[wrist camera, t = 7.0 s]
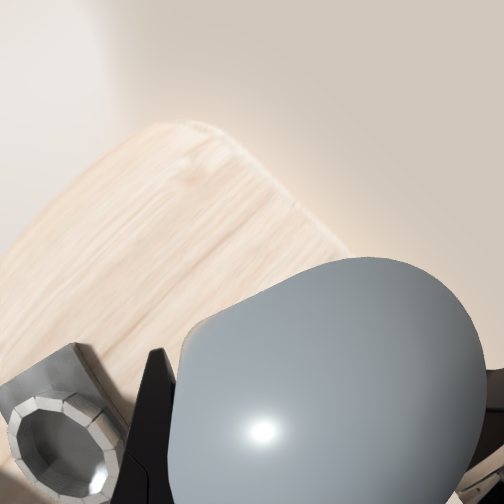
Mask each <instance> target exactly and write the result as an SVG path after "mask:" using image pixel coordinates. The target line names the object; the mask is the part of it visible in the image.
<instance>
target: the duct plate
mask: <svg viewBox="0 0 504 504" xmlns="http://www.w3.org/2000/svg"><path fill="white" fill-rule="evenodd" d="M0 412H1V414H2V416H3V417H4V419H5V421H6V422H7V424H8V427H7V431H8V432H7V436H8V440H9V445H10V449H11V452H12V456H13V458H14V459H15V460H14V461H15V462H16V464H17V465H18V467H19V468H20V469H21V471H22V472H23V473H24V475H25V476H26V477H27V479H28V480H29V481H30V483H31V484H33V483H34V485H33V486H35V487H36V488H37V489H39V490H40V491H42V492H43V493H45V494H46V495H48V496H50V497H51V498H53V499H54V500H56V501H57V502H58V501H60V503H64V504H109V503H110V500H111V497H112V494H113V491H114V488H115V485H116V481H117V478H118V474H119V470H120V466H121V462H122V457H123V453H124V451H125V444H126V440H127V436H128V431H129V426H128V425H127V423H126V422H125V421H124V419H123V418H122V416H121V415H120V414H119V412H118V411H117V409H116V408H115V406H114V405H113V403H112V402H111V400H110V399H109V397H108V396H107V394H106V393H105V391H104V390H103V388H102V387H101V385H100V383H99V382H98V380H97V379H96V377H95V375H94V374H93V372H92V370H91V369H90V367H89V365H88V364H87V362H86V360H85V359H84V357H83V355H82V353H81V351H80V350H79V348H78V346H77V344H76V342H75V343H69V344H68V345H66V346H64V347H63V348H61V349H60V350H58V351H56V352H55V353H53V354H51V355H50V356H48V357H47V358H45V359H43V360H42V361H40V362H39V363H37V364H35V365H34V366H32V367H31V368H29V369H27V370H26V371H24V372H23V373H21V374H19V375H18V376H16V377H15V378H13V379H11V380H10V381H8V382H7V383H5V384H3V385H2V386H0Z"/></svg>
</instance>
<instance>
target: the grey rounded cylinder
mask: <svg viewBox="0 0 504 504" xmlns="http://www.w3.org/2000/svg"><path fill="white" fill-rule="evenodd" d="M486 399H487V377H486V366H485V360H484V355H483V350H482V346H481V343H480V340H479V337H478V334H477V331H476V329H475V327H474V325H473V322H472V320H471V318H470V316H469V315H468V313H467V312H466V310H465V308H464V307H463V305H462V304H461V302H459V300H458V299H457V298H456V296H455V295H454V294H453V293H452V292H451V291H450V290H449V289H448V288H447V287H446V286H445V285H443V284H442V283H441V282H440V281H439V280H438V279H436V278H435V277H433V276H431V275H430V274H428V273H427V272H425V271H424V270H421V269H419V268H417V267H414V266H412V265H410V264H408V263H404V262H400V261H396V260H392V259H387V258H375V257H361V258H348V259H342V260H338V261H334V262H329V263H325V264H322V265H319V266H316V267H314V268H311V269H309V270H306V271H303V272H301V273H298V274H296V275H294V276H292V277H290V278H288V279H286V280H284V281H282V282H280V283H278V284H276V285H274V286H272V287H270V288H268V289H266V290H264V291H262V292H260V293H258V294H256V295H254V296H252V297H250V298H248V299H246V300H244V301H241V302H239V303H237V304H235V305H233V306H231V307H229V308H227V309H225V310H223V311H221V312H218V313H216V314H214V315H212V316H210V317H208V318H206V319H204V320H202V321H200V322H199V323H197V324H196V325H195V326H194V327H193V328H192V329H191V330H190V331H189V332H188V334H187V336H186V337H185V339H184V342H183V344H182V348H181V354H180V361H179V367H178V374H177V381H176V389H175V396H174V404H173V412H172V420H171V429H170V437H169V446H168V456H167V457H168V475H169V483H170V487H171V491H172V495H173V499H174V503H175V504H445V503H446V502H447V501H448V499H449V498H450V497H451V495H452V494H453V492H454V491H455V489H456V488H457V486H458V485H459V483H460V481H461V479H462V478H463V476H464V474H465V472H466V470H467V468H468V466H469V464H470V462H471V459H472V457H473V455H474V452H475V449H476V446H477V443H478V440H479V437H480V434H481V430H482V425H483V421H484V416H485V408H486Z"/></svg>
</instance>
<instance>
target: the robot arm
mask: <svg viewBox="0 0 504 504" xmlns="http://www.w3.org/2000/svg"><path fill="white" fill-rule="evenodd" d="M486 377H487V399H486V408H485V416H484V421H483V425H482V430H481V434H480V437H479V440H478V443H477V446H476V449H475V452H474V455H473V457H472V459H471V462H470V464H469V466H468V468H467V470H466V472H465V474H464V476H463V478H462V479H461V481H460V483H459V485H458V486H457V488H456V489H455V492H456V494H457V495H458V496H459V499H460V500H461V501H462V503H463V504H504V368H502V369H497V370H486ZM175 389H176V380H175V377H174V373H173V370H172V367H171V364H170V362H169V360H168V357H167V355H166V352H165V350H164V348H158V349H154V350H151V351H150V352H149V355H148V359H147V362H146V366H145V369H144V373H143V377H142V380H141V384H140V388H139V391H138V395H137V399H136V403H135V407H134V411H133V415H132V419H131V423H130V427H129V431H128V436H127V440H126V444H125V451H124V453H123V457H122V462H121V466H120V470H119V474H118V478H117V481H116V485H115V488H114V491H113V494H112V497H111V500H110V503H109V504H175V503H174V499H173V495H172V491H171V487H170V483H169V475H168V457H167V456H168V446H169V437H170V429H171V420H172V412H173V404H174V396H175Z"/></svg>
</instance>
